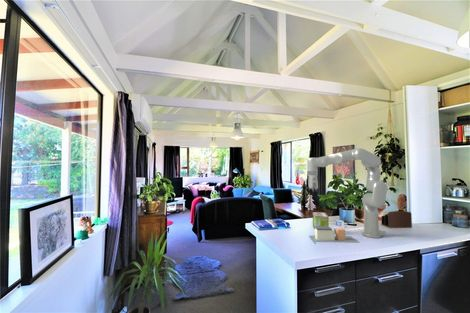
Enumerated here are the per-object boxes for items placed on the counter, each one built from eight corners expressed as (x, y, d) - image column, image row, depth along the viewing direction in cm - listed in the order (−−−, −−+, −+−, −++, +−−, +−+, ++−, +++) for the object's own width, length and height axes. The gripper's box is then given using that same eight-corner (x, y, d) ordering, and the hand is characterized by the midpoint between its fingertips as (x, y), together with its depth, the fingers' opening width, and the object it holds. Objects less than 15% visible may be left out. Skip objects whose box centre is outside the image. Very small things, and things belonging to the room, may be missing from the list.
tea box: (329, 235, 172) (328, 216, 173) (315, 235, 174) (314, 215, 175) (325, 230, 187) (325, 212, 187) (312, 229, 189) (312, 211, 189)
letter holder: (412, 228, 193) (411, 211, 193) (388, 228, 192) (388, 211, 193) (403, 224, 202) (402, 208, 203) (381, 225, 202) (380, 209, 203)
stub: (343, 238, 163) (342, 228, 163) (345, 240, 159) (345, 229, 159) (335, 238, 163) (335, 228, 164) (338, 239, 159) (337, 229, 160)
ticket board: (350, 237, 168) (350, 225, 168) (360, 244, 154) (359, 230, 154) (309, 237, 169) (309, 224, 170) (314, 243, 155) (314, 230, 156)
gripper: (320, 174, 166) (321, 197, 166) (314, 173, 184) (314, 194, 183) (310, 174, 167) (310, 197, 166) (304, 173, 184) (305, 194, 184)
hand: (312, 195), depth 175 cm, fingers open, 9 cm apart
